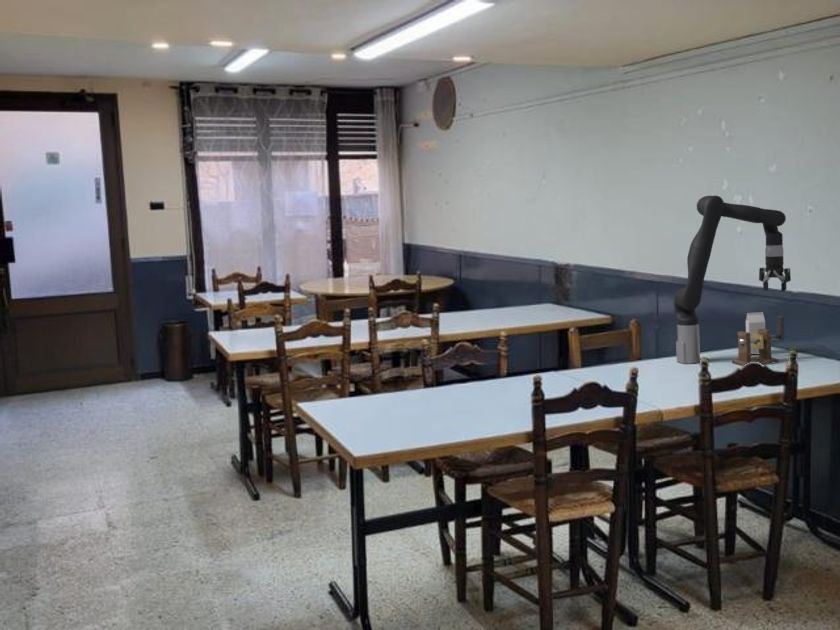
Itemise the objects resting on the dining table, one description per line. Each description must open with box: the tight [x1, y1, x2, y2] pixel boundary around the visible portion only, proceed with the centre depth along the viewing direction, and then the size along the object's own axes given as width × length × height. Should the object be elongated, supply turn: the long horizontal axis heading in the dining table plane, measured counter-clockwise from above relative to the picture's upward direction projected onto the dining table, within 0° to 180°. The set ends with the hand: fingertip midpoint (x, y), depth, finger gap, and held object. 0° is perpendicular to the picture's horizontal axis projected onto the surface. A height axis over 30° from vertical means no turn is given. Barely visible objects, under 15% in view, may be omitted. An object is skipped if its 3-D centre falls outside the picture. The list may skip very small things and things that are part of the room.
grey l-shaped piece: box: [739, 315, 785, 344], centre depth 365 cm, size 21×3×10 cm, turn 103°
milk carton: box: [745, 311, 766, 354], centre depth 385 cm, size 7×7×19 cm
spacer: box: [752, 333, 764, 349], centre depth 365 cm, size 2×6×6 cm, turn 13°
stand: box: [731, 328, 780, 367], centre depth 365 cm, size 16×10×14 cm, turn 103°
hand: (774, 290), depth 381 cm, fingers open, 8 cm apart
